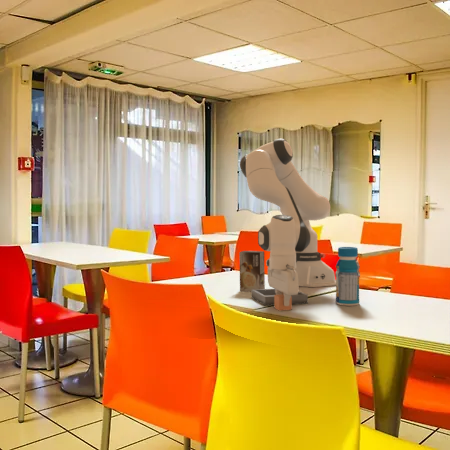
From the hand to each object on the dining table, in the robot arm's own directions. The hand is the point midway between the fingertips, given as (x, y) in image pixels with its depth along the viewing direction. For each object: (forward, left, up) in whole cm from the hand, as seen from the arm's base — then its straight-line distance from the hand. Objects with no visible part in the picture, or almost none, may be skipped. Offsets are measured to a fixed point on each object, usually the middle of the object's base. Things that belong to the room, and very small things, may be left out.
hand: (282, 304), depth 183 cm
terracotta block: (0, 0, -2) cm, 2 cm away
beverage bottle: (-25, -2, -2) cm, 25 cm away
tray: (-4, -15, -2) cm, 16 cm away
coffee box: (-1, -38, -2) cm, 38 cm away
